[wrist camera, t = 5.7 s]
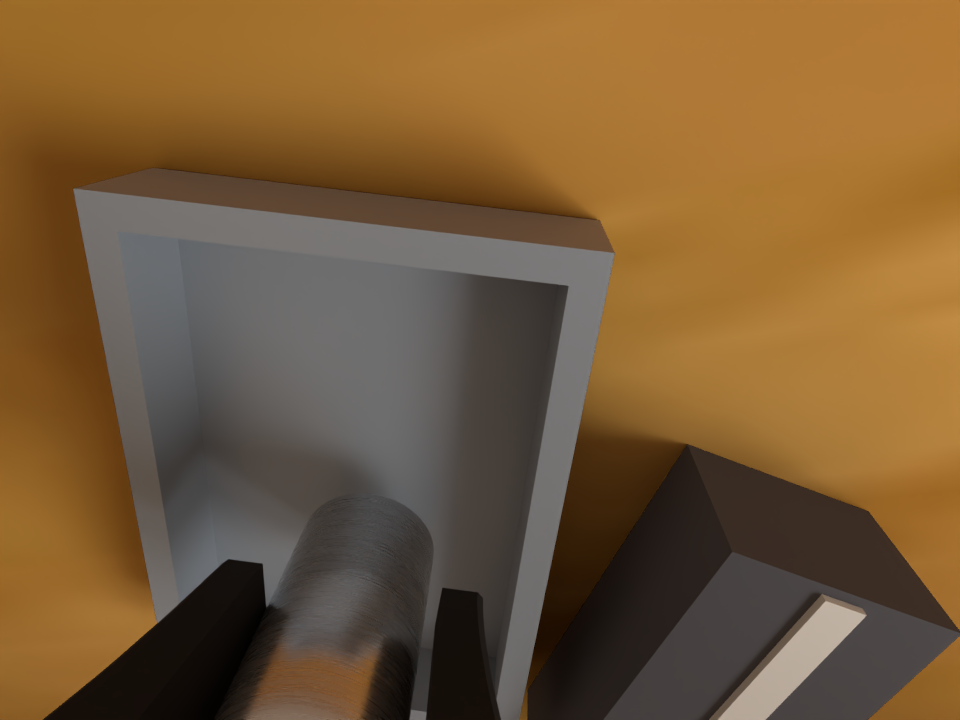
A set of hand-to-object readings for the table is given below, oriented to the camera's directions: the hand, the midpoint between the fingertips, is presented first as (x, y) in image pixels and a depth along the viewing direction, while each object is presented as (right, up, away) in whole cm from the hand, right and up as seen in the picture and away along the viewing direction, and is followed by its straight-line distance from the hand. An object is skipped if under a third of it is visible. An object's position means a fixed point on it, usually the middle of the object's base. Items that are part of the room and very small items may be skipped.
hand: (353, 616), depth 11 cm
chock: (+7, -2, +5) cm, 9 cm away
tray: (0, +2, +3) cm, 4 cm away
